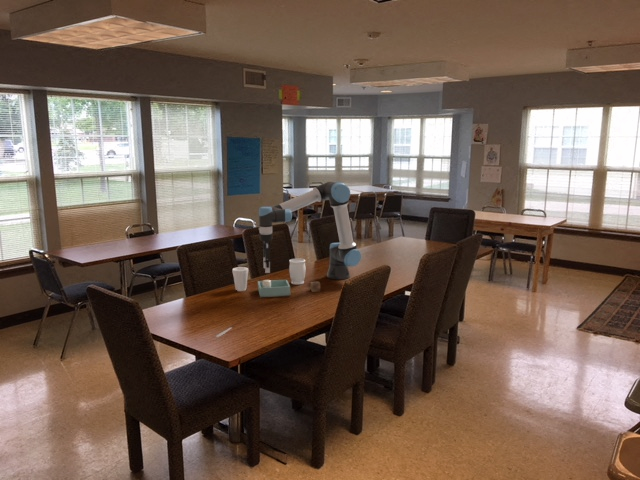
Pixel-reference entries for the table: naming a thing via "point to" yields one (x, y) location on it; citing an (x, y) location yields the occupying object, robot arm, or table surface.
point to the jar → (297, 271)
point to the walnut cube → (315, 286)
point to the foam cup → (240, 278)
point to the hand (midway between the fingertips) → (266, 270)
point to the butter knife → (223, 332)
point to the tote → (274, 288)
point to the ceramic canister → (266, 283)
